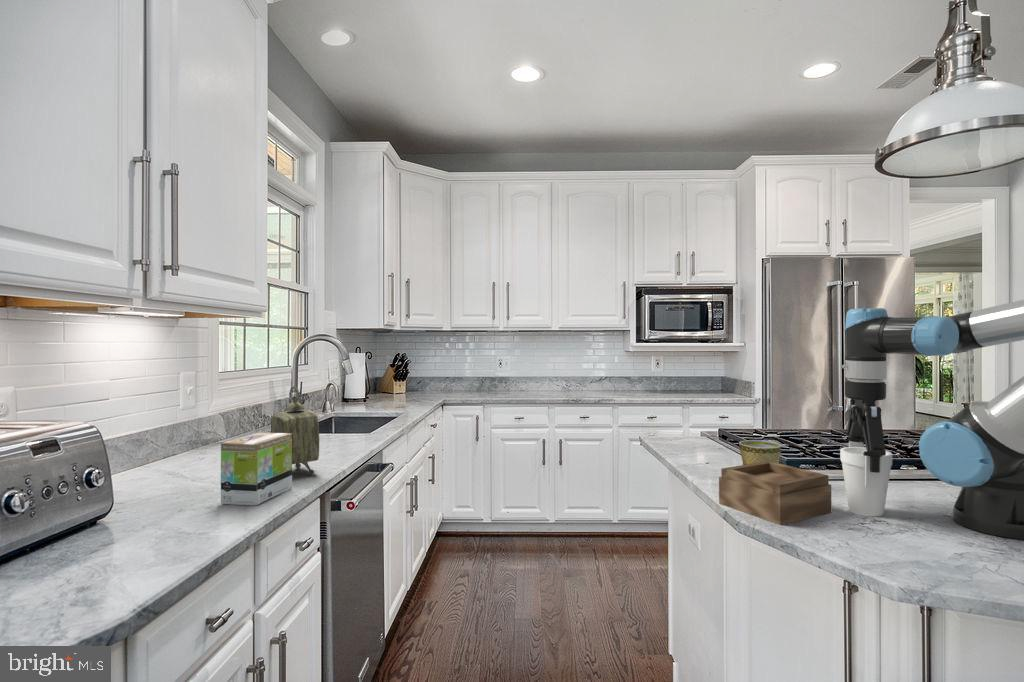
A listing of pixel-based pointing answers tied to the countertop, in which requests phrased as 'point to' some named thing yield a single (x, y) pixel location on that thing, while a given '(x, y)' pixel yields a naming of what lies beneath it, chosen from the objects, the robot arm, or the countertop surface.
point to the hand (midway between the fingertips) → (864, 478)
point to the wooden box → (775, 491)
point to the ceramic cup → (759, 451)
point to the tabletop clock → (299, 431)
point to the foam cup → (854, 476)
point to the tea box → (255, 468)
